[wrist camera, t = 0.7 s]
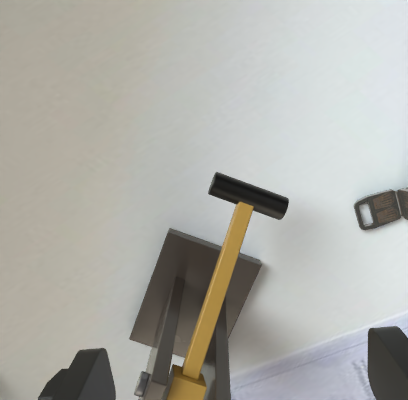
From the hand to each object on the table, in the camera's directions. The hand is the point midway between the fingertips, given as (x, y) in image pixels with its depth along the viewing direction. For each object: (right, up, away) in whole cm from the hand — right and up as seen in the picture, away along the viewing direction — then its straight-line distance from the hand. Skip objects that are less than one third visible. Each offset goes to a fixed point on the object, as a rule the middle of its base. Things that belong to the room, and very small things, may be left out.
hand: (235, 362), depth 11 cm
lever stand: (-2, -5, +24) cm, 24 cm away
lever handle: (0, -2, +14) cm, 14 cm away
